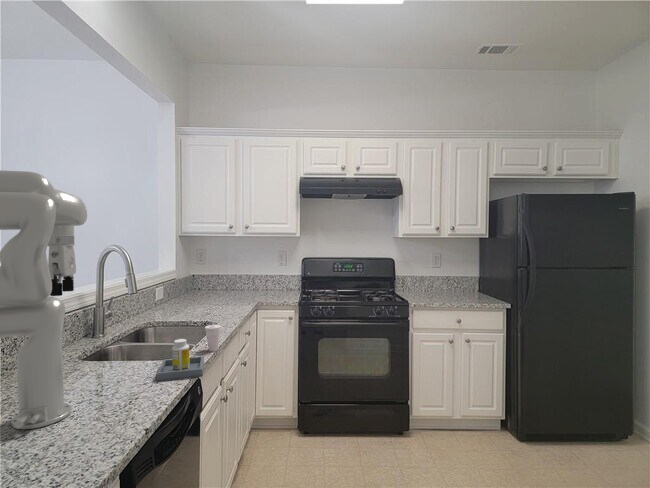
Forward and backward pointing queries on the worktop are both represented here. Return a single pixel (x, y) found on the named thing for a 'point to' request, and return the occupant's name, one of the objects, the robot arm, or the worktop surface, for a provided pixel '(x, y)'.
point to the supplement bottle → (180, 355)
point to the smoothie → (213, 336)
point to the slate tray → (194, 370)
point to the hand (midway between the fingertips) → (62, 293)
